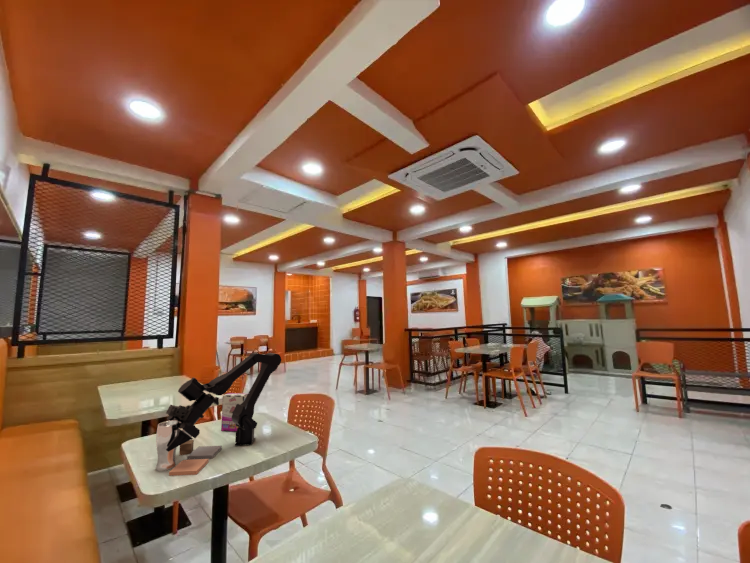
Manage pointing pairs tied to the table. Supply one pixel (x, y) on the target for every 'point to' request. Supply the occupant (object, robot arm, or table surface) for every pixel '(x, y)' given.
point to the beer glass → (166, 444)
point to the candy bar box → (230, 410)
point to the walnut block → (186, 448)
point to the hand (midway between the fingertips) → (163, 447)
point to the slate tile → (204, 452)
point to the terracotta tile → (189, 467)
